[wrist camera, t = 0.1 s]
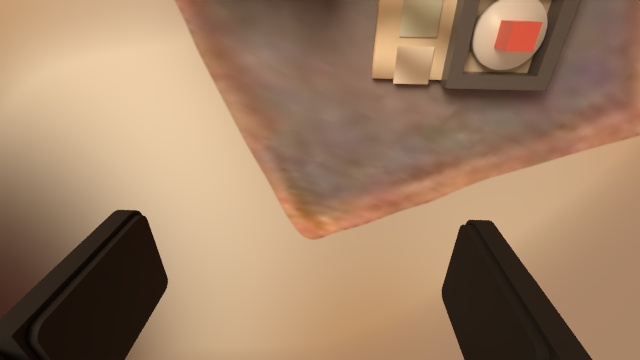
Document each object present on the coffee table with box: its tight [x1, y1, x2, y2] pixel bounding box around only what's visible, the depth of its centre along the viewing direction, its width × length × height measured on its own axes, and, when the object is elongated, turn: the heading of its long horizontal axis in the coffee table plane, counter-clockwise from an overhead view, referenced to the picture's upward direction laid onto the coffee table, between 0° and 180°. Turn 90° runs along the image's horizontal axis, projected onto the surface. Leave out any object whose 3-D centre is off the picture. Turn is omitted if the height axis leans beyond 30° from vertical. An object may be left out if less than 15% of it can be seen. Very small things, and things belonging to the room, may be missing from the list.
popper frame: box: [440, 0, 580, 91], centre depth 32 cm, size 11×11×2 cm
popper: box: [470, 0, 547, 70], centre depth 31 cm, size 7×7×4 cm
